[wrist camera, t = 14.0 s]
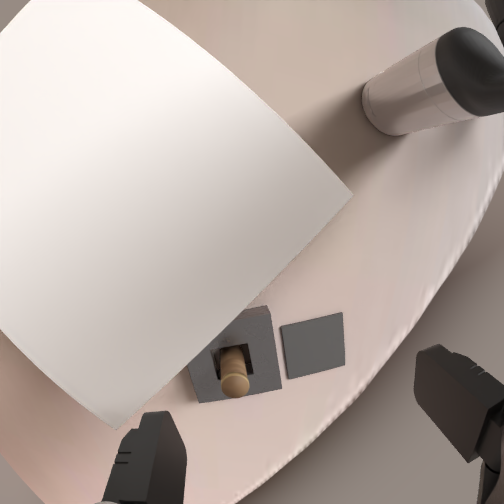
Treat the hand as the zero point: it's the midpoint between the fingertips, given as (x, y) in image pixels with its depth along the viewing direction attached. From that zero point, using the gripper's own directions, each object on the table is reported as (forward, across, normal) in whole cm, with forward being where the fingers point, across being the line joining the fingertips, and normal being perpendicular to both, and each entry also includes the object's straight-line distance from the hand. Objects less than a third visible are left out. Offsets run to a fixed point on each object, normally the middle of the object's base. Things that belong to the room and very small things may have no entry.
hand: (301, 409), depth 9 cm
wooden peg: (+32, +5, +15) cm, 36 cm away
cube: (+33, +11, -9) cm, 36 cm away
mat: (+33, -7, +18) cm, 38 cm away
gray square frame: (+32, +5, +15) cm, 36 cm away
